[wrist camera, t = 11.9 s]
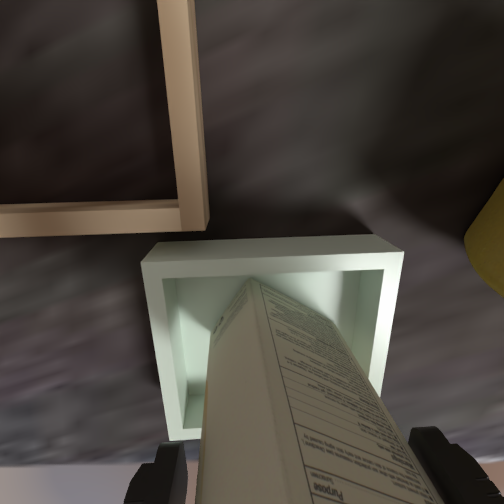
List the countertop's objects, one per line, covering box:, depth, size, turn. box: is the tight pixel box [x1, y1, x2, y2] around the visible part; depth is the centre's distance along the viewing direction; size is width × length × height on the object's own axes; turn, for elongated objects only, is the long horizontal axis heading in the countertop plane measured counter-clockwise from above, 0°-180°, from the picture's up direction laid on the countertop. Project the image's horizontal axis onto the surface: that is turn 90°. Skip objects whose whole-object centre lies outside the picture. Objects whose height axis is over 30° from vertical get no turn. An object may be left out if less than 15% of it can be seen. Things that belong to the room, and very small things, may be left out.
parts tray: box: [141, 234, 404, 441], centre depth 16 cm, size 12×11×3 cm
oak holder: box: [0, 0, 210, 238], centre depth 11 cm, size 12×13×2 cm
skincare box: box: [195, 278, 444, 504], centre depth 11 cm, size 6×4×12 cm
